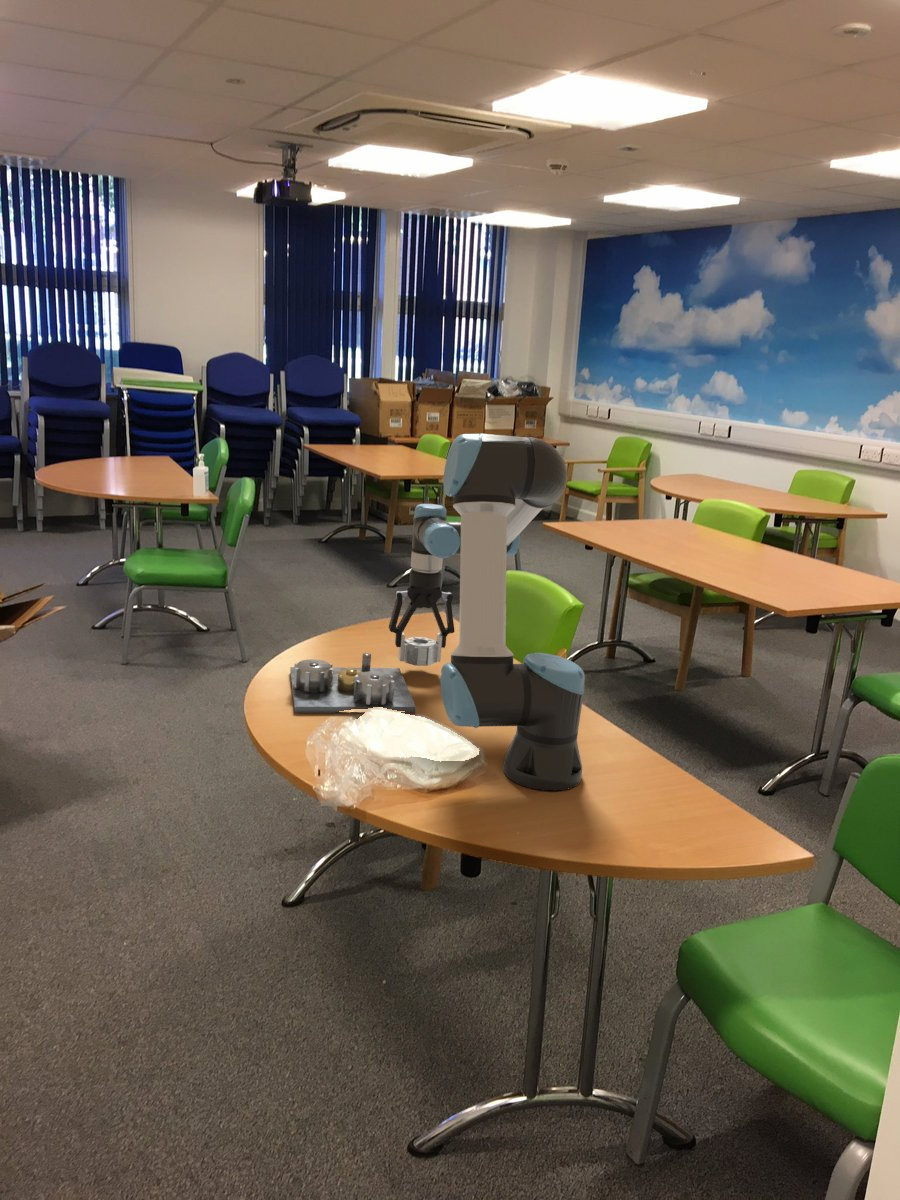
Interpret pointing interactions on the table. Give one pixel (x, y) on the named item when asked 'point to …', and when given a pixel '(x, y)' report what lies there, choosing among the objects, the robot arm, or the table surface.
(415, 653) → the planet gear
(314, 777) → the table surface
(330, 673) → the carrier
